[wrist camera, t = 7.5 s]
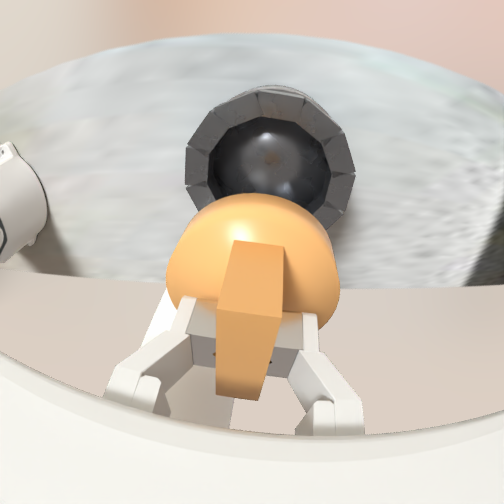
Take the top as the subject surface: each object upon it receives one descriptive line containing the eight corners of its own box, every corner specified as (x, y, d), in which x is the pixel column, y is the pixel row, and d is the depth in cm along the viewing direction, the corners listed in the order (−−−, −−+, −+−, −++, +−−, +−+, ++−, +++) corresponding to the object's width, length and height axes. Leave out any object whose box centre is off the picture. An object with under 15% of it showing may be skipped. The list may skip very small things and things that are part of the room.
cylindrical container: (274, 233, 35) (248, 458, 14) (226, 257, 37) (171, 455, 17) (239, 185, 31) (160, 416, 11) (190, 215, 34) (92, 415, 14)
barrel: (211, 186, 32) (183, 235, 24) (220, 77, 25) (188, 83, 17) (320, 205, 32) (329, 260, 24) (345, 97, 24) (373, 113, 16)
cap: (177, 183, 11) (117, 268, 7) (352, 207, 10) (387, 305, 6) (184, 304, 15) (156, 390, 11) (312, 322, 14) (316, 413, 10)
